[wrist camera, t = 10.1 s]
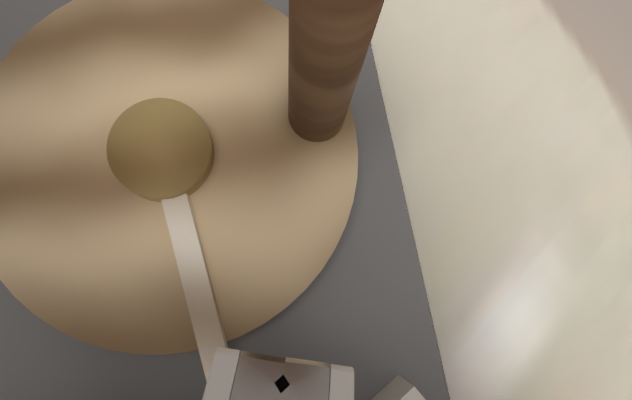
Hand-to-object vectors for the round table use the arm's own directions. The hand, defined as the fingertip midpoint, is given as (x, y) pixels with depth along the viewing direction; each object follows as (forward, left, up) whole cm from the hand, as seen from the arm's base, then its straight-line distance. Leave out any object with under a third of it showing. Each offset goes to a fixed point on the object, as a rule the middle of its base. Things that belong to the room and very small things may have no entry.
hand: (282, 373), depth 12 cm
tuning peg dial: (-7, -1, -11) cm, 13 cm away
